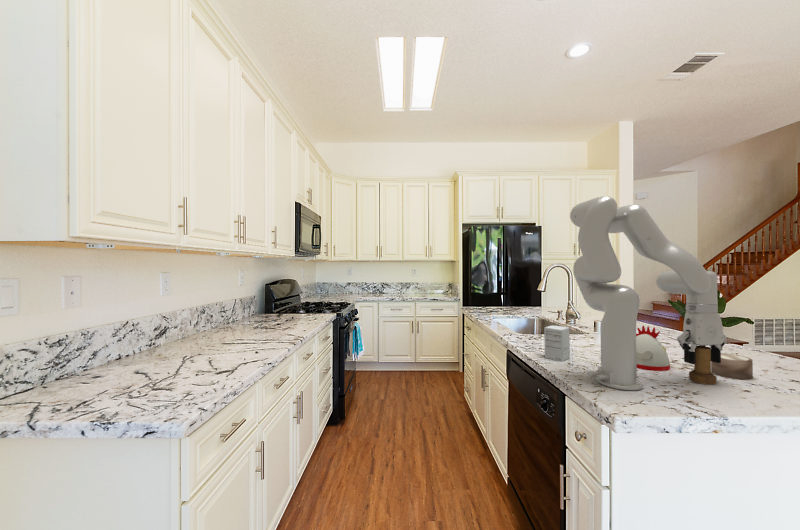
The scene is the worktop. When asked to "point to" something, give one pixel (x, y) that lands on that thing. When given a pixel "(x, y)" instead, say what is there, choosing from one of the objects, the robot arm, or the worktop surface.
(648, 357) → the kitchen timer
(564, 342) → the supplement box
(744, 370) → the display pedestal
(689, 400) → the worktop surface
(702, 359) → the brown wooden turned piece
